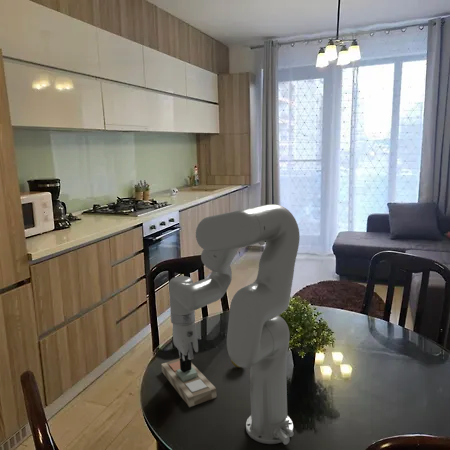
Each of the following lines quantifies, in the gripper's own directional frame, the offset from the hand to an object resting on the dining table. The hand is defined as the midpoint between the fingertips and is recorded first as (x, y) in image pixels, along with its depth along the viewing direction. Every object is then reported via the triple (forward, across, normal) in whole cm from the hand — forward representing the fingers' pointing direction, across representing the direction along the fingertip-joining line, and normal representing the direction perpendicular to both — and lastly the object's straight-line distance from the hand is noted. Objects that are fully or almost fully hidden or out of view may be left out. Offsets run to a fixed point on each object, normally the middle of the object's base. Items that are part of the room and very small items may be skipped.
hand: (185, 369), depth 132 cm
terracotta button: (+4, +7, 0) cm, 8 cm away
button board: (+5, 0, 0) cm, 5 cm away
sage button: (+3, 0, 0) cm, 3 cm away
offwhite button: (+4, -7, 0) cm, 9 cm away
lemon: (+5, -1, -19) cm, 20 cm away
